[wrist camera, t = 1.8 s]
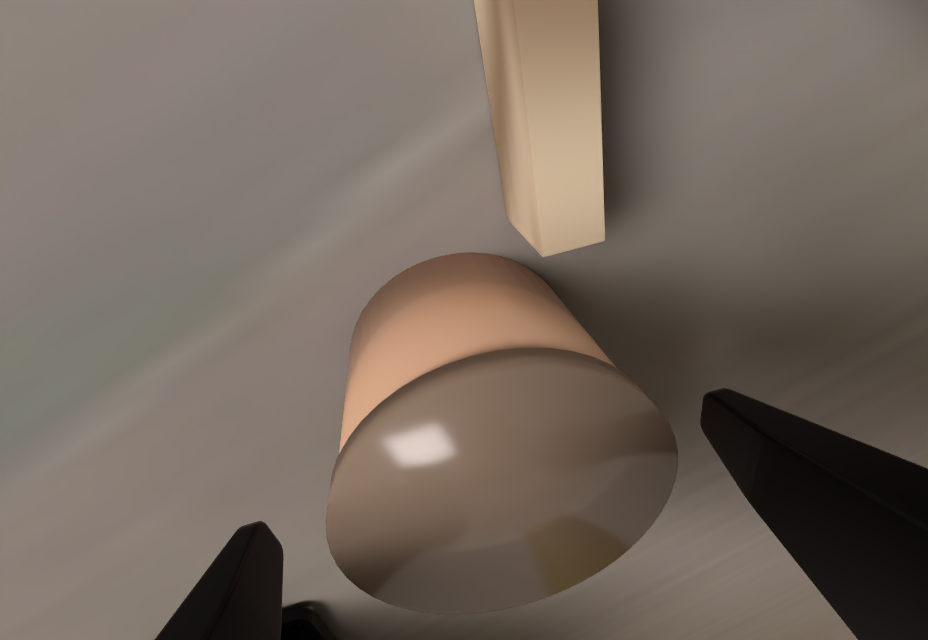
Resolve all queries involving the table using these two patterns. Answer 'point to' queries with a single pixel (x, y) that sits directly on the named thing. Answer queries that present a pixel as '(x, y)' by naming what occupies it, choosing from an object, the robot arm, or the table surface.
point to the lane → (546, 117)
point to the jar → (487, 444)
